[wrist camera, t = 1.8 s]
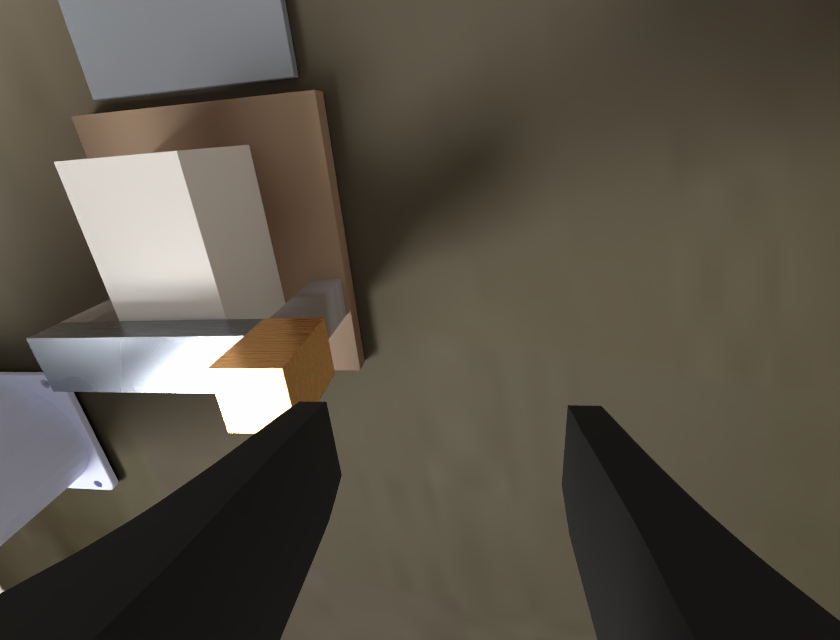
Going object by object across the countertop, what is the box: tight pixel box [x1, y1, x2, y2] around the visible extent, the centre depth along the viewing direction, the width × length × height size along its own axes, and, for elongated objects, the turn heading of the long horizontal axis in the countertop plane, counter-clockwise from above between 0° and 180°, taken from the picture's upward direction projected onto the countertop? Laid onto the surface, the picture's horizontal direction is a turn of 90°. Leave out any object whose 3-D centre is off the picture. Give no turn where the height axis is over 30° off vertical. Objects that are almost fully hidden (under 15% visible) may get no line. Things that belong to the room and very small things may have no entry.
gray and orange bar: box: [26, 318, 335, 433], centre depth 13 cm, size 10×2×3 cm, turn 95°
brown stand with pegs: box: [57, 90, 365, 370], centre depth 16 cm, size 10×11×5 cm
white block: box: [54, 145, 286, 321], centre depth 15 cm, size 4×8×4 cm, turn 5°
